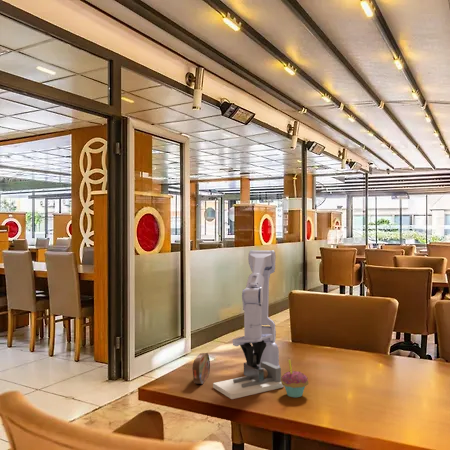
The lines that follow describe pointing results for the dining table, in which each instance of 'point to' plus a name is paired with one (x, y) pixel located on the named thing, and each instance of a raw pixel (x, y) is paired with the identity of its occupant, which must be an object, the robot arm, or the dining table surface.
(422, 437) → the dining table surface
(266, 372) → the nut
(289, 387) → the cupcake
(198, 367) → the tin
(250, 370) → the sliding jaw
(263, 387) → the board
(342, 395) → the dining table surface
